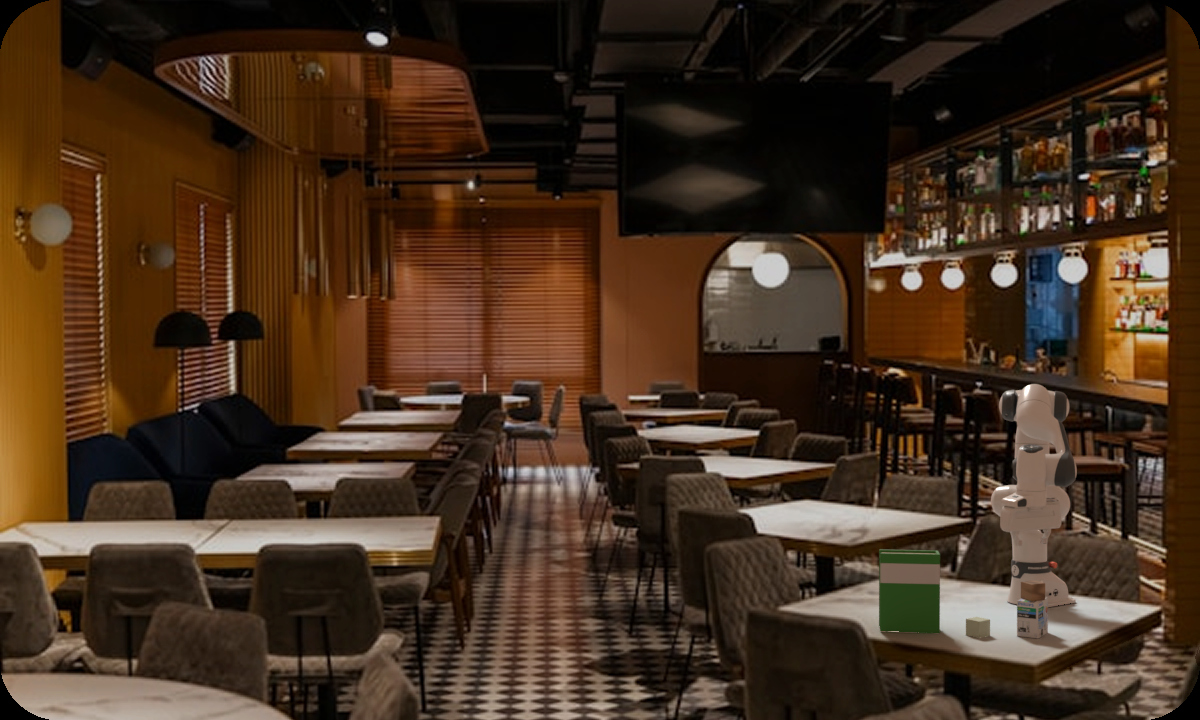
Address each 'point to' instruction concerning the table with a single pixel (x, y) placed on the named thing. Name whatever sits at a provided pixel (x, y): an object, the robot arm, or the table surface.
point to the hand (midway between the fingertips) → (1031, 544)
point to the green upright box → (909, 591)
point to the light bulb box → (1032, 618)
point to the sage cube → (977, 627)
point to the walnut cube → (1033, 590)
